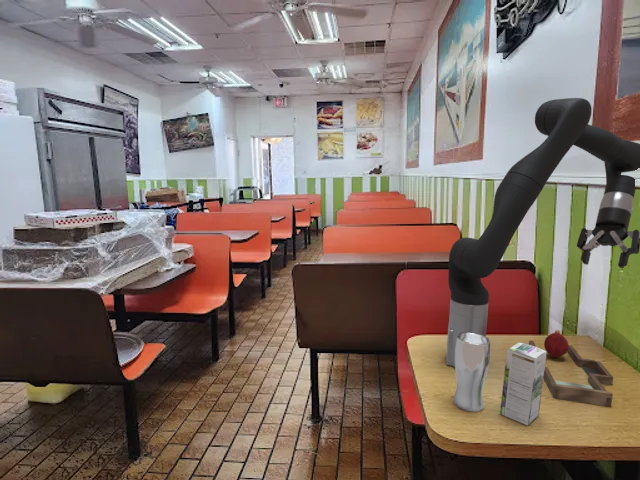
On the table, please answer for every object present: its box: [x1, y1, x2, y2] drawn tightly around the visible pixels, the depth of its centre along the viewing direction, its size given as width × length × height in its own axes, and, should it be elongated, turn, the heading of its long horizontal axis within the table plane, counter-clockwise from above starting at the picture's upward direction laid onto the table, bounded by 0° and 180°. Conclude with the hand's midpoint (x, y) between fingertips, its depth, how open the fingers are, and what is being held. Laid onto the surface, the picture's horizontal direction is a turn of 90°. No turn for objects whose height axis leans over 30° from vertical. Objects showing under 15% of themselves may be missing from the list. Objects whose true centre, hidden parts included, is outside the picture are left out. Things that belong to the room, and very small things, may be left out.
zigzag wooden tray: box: [528, 340, 614, 408], centre depth 103 cm, size 19×30×3 cm, turn 163°
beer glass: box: [453, 333, 491, 413], centre depth 87 cm, size 7×7×15 cm
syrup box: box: [499, 342, 548, 427], centre depth 83 cm, size 6×6×14 cm
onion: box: [543, 329, 569, 359], centre depth 112 cm, size 6×6×8 cm
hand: (602, 265), depth 112 cm, fingers open, 8 cm apart
